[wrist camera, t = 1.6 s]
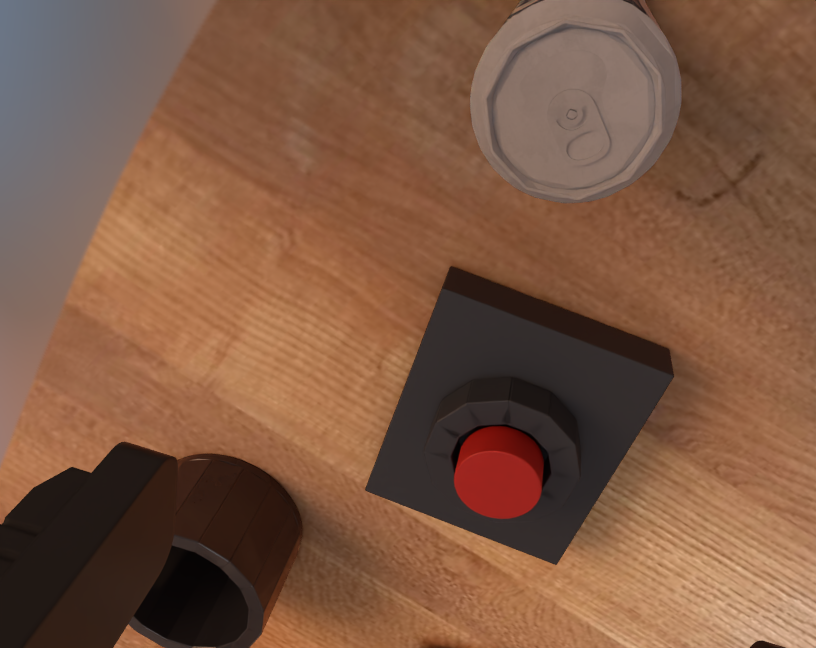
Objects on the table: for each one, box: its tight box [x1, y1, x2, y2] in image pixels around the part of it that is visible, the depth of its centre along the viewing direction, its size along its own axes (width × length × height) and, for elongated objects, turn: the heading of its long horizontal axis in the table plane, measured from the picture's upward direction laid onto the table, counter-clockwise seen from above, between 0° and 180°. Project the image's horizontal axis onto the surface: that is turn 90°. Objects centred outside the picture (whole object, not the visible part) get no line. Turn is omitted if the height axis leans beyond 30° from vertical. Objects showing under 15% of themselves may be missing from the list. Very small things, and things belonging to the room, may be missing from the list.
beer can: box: [470, 0, 681, 203], centre depth 22 cm, size 5×5×12 cm
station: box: [365, 267, 674, 565], centre depth 33 cm, size 12×10×4 cm
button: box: [454, 426, 544, 519], centre depth 31 cm, size 4×4×2 cm
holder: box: [128, 454, 302, 648], centre depth 40 cm, size 9×9×6 cm
